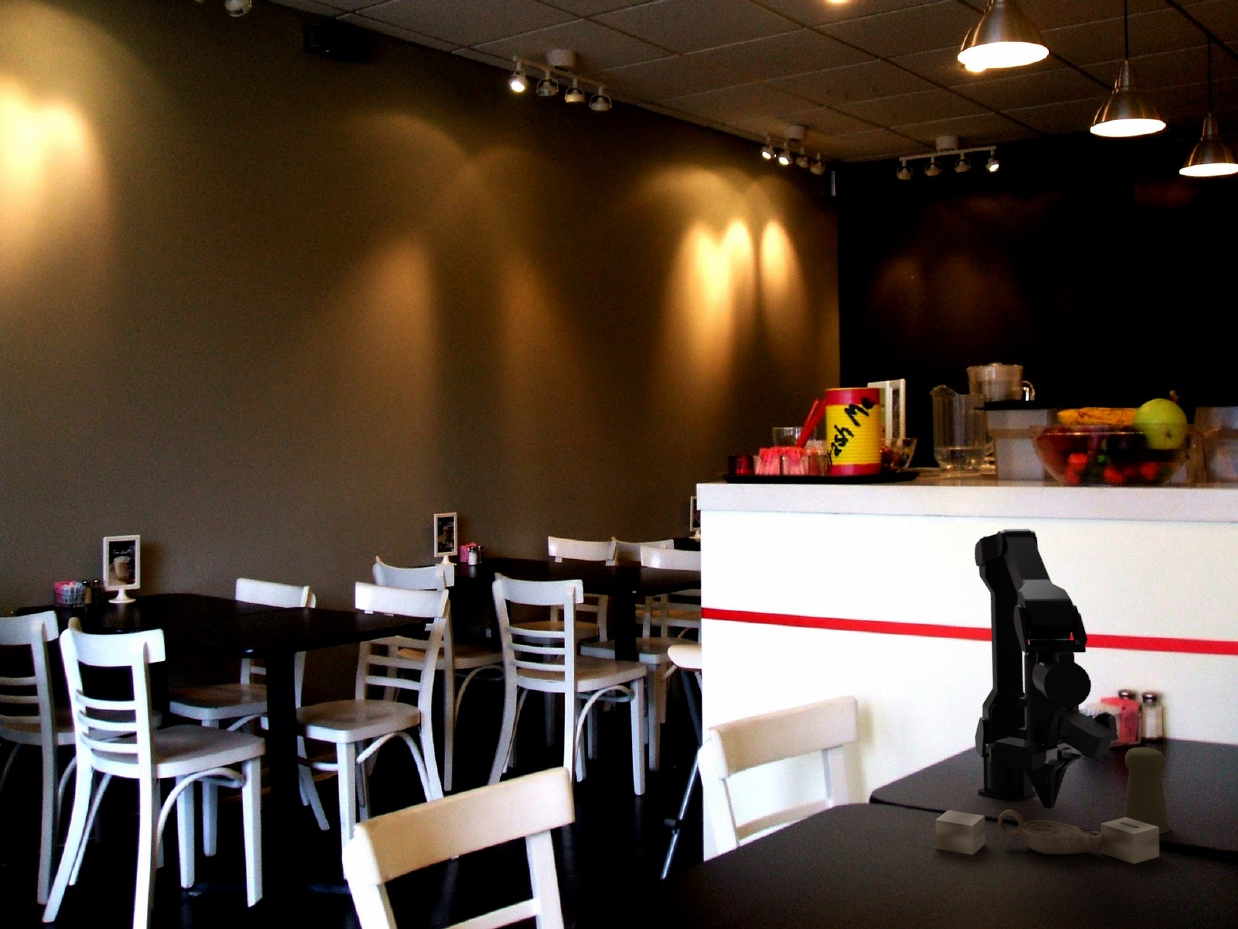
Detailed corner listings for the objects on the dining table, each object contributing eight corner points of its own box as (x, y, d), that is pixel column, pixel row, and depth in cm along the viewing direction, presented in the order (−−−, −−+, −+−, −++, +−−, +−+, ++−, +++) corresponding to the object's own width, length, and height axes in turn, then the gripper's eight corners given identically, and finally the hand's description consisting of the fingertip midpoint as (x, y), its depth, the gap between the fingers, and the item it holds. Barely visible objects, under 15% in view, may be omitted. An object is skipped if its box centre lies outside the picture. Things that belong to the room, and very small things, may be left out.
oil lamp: (1104, 848, 165) (1103, 811, 165) (1100, 866, 158) (1099, 827, 158) (1002, 837, 170) (1001, 801, 170) (994, 854, 164) (993, 816, 164)
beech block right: (1101, 853, 163) (1100, 823, 163) (1126, 847, 165) (1126, 816, 165) (1133, 865, 159) (1133, 833, 158) (1159, 857, 161) (1158, 826, 161)
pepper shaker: (1174, 835, 169) (1173, 755, 169) (1127, 833, 170) (1126, 754, 170) (1163, 821, 175) (1162, 744, 175) (1118, 819, 176) (1117, 743, 176)
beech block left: (936, 849, 166) (935, 819, 166) (948, 839, 170) (948, 810, 170) (972, 856, 163) (972, 825, 163) (984, 845, 167) (984, 815, 167)
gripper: (1065, 712, 152) (1066, 838, 152) (1140, 689, 164) (1142, 806, 164) (986, 698, 160) (987, 818, 161) (1063, 677, 172) (1065, 789, 173)
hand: (1048, 808), depth 164 cm, fingers closed
